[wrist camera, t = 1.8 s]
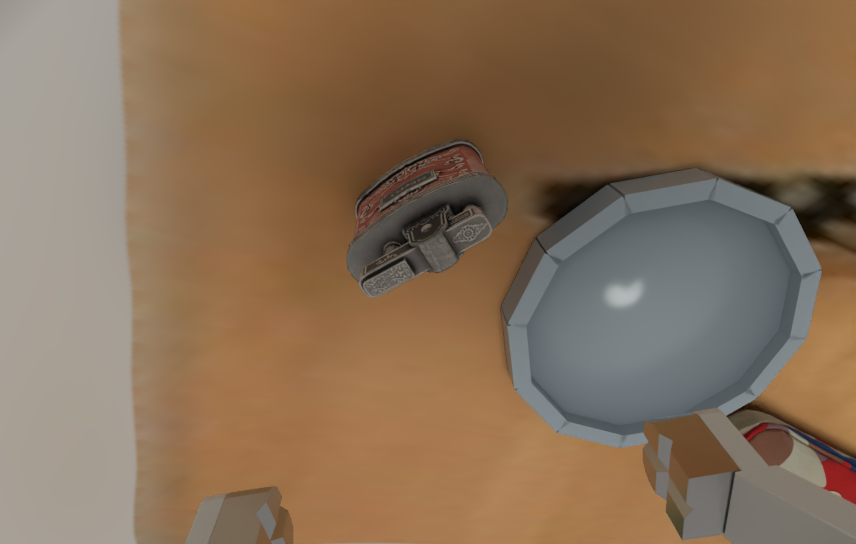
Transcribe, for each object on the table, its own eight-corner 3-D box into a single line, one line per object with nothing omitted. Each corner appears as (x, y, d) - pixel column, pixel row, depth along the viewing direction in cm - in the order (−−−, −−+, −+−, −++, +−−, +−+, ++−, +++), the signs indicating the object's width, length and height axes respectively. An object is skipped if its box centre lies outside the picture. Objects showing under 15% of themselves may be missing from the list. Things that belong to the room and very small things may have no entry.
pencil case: (788, 357, 38) (841, 403, 33) (886, 477, 45) (940, 527, 41) (665, 439, 41) (699, 491, 36) (775, 539, 48) (814, 592, 44)
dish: (817, 145, 30) (847, 154, 28) (768, 398, 39) (788, 418, 37) (488, 205, 30) (495, 218, 28) (516, 442, 40) (522, 464, 38)
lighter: (464, 124, 28) (499, 175, 19) (491, 175, 30) (534, 244, 21) (344, 195, 30) (324, 272, 21) (375, 240, 31) (369, 331, 22)
